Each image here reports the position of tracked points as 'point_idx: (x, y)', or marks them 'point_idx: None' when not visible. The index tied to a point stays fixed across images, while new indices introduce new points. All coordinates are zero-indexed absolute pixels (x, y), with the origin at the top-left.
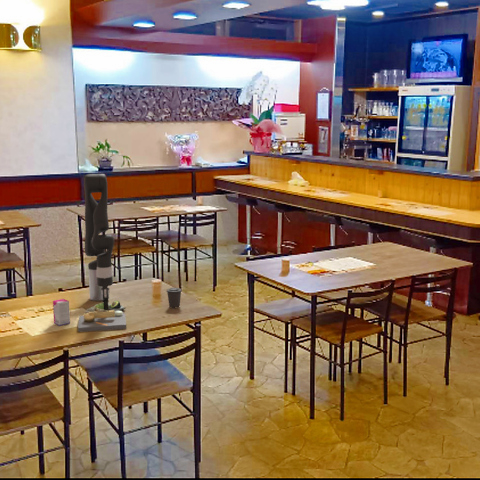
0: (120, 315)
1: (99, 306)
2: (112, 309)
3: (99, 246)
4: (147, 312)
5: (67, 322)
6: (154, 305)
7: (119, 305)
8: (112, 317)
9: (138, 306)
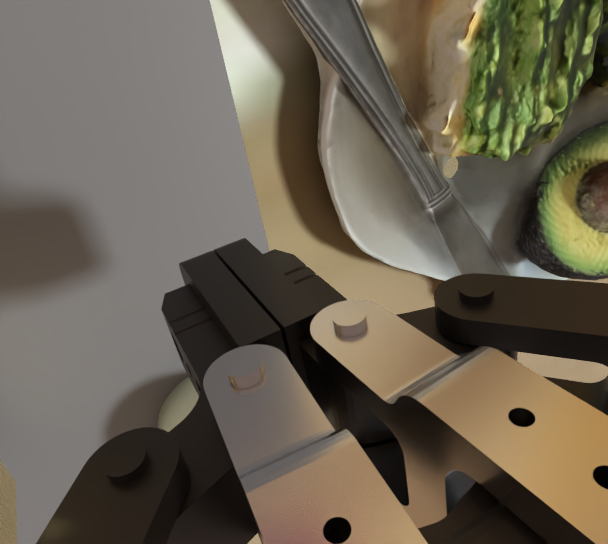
0: None
1: (551, 9)
2: (505, 191)
3: None
4: None
5: None
6: None
7: (556, 275)
8: (80, 381)
9: (568, 371)
